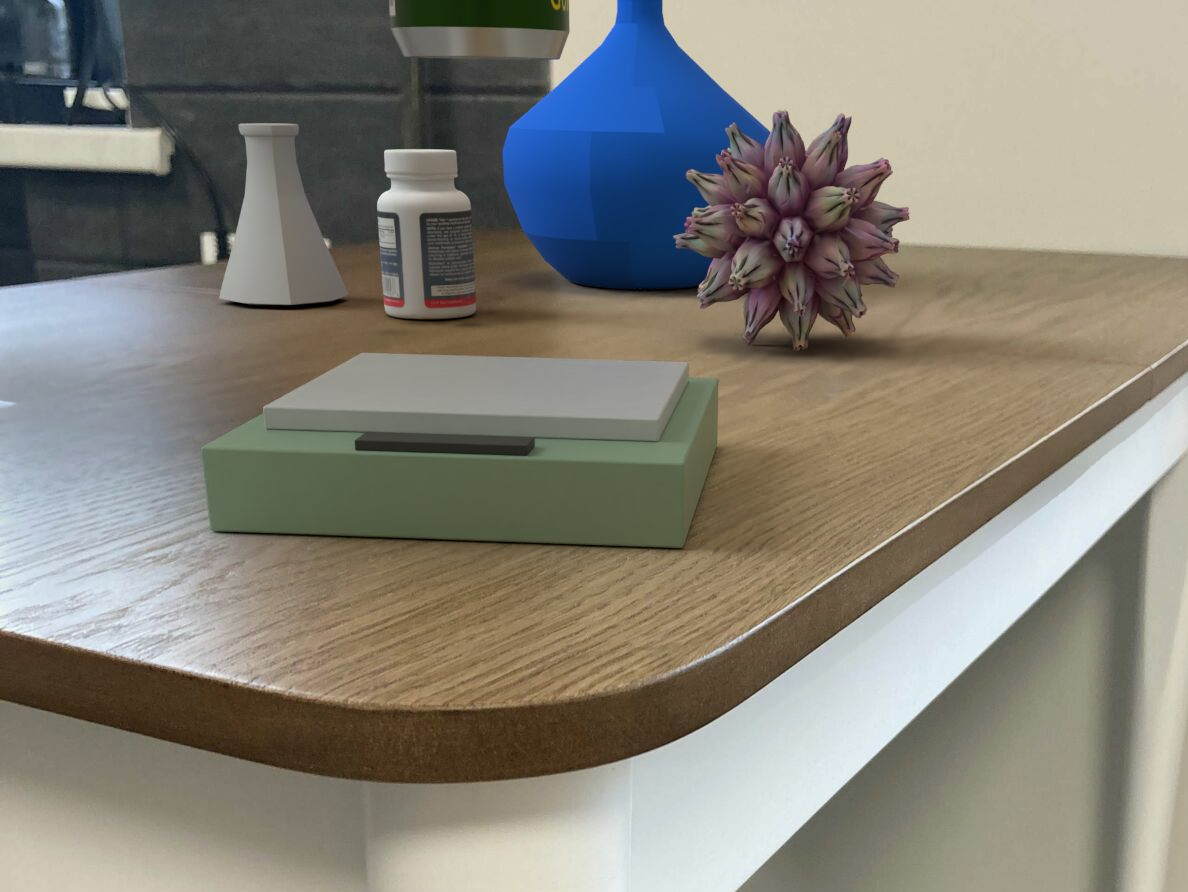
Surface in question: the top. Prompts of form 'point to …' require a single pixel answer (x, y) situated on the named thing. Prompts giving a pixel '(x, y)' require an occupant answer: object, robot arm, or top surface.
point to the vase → (622, 158)
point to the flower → (792, 229)
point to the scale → (474, 452)
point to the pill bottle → (425, 237)
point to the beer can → (480, 28)
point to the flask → (277, 229)
